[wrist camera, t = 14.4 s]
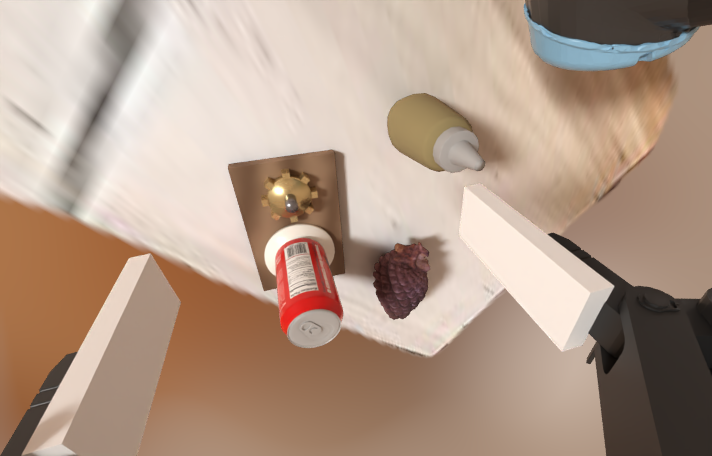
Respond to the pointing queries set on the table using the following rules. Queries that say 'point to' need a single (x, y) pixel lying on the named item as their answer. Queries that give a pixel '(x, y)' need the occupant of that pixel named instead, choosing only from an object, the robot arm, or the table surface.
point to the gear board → (263, 226)
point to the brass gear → (289, 195)
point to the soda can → (307, 294)
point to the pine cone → (402, 279)
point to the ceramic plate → (292, 233)
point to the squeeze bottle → (433, 134)
